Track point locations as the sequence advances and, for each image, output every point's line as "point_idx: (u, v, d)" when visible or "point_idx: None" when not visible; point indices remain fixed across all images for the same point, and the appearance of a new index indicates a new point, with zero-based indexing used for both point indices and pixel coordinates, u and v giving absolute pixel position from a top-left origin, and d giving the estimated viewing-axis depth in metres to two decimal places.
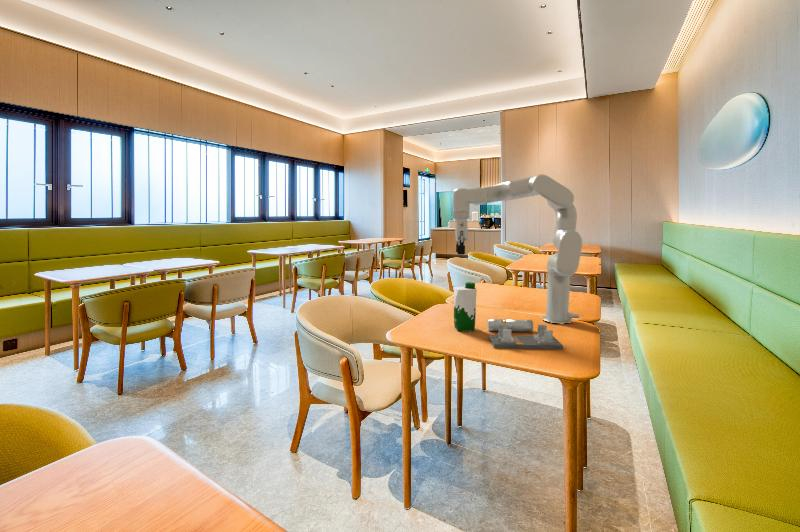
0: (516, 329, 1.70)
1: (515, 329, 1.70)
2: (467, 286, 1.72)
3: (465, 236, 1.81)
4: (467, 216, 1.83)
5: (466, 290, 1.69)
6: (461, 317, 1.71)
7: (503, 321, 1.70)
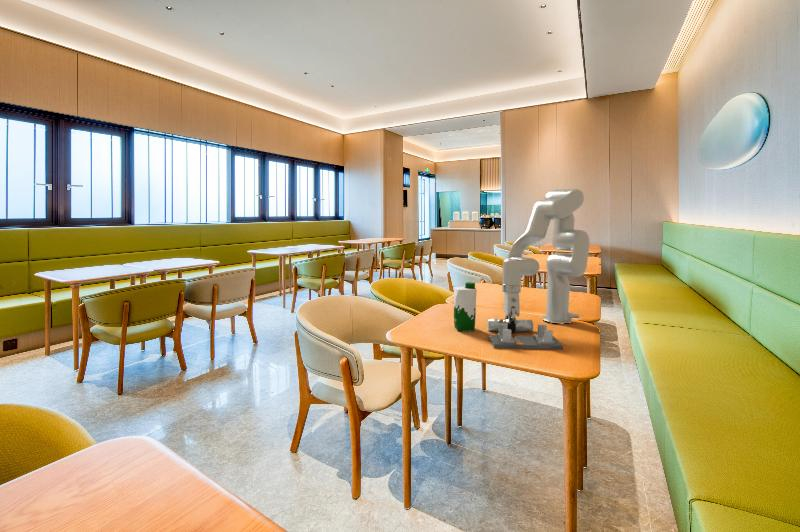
0: (516, 328, 1.70)
1: None
2: (467, 286, 1.72)
3: (517, 312, 1.66)
4: (519, 289, 1.67)
5: (466, 290, 1.69)
6: (461, 317, 1.71)
7: (503, 320, 1.71)
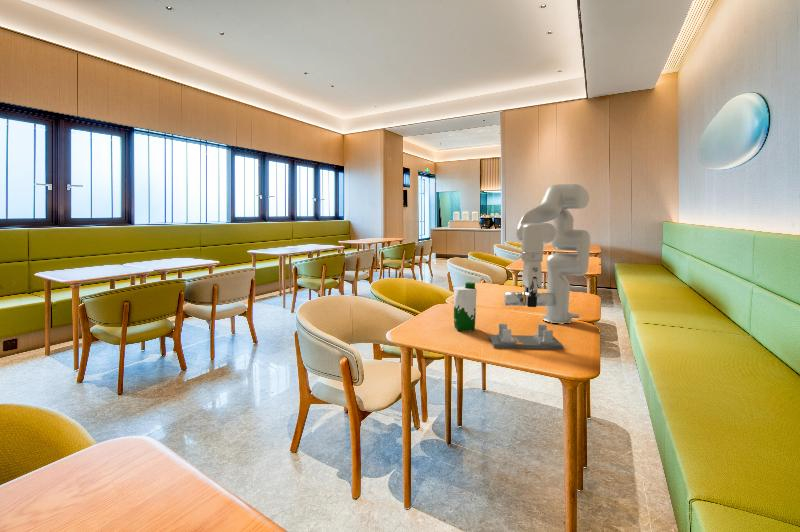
0: (537, 303, 1.51)
1: None
2: (467, 286, 1.72)
3: (539, 283, 1.47)
4: (541, 258, 1.48)
5: (466, 290, 1.69)
6: (461, 317, 1.71)
7: (522, 294, 1.52)
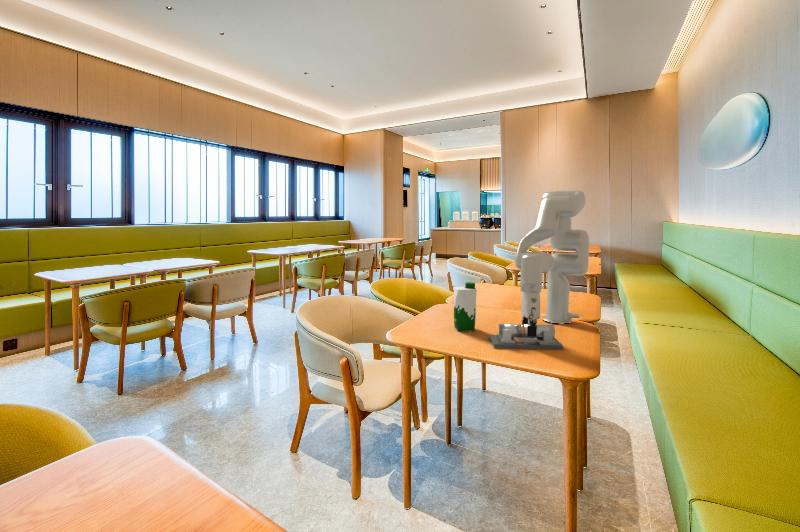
0: (536, 335, 1.52)
1: None
2: (467, 286, 1.72)
3: (538, 314, 1.48)
4: (539, 289, 1.50)
5: (466, 290, 1.69)
6: (461, 317, 1.71)
7: (521, 326, 1.53)
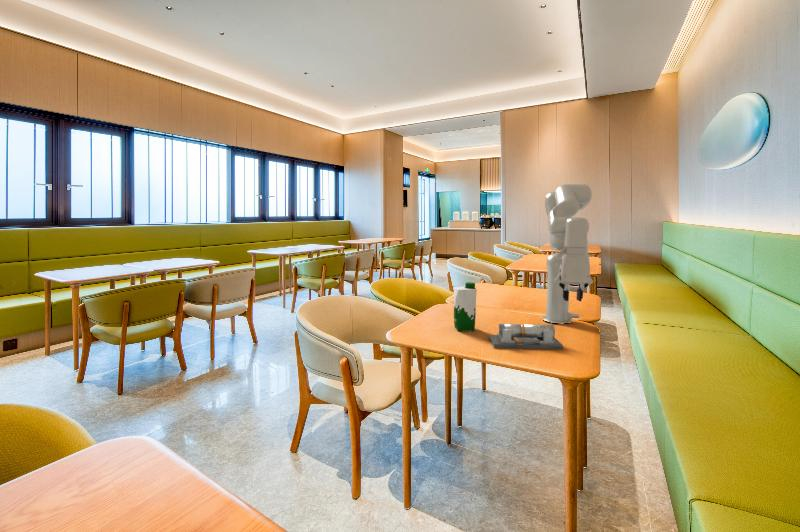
0: (536, 335, 1.52)
1: (535, 335, 1.52)
2: (467, 286, 1.72)
3: (561, 276, 1.50)
4: (570, 252, 1.47)
5: (466, 290, 1.69)
6: (461, 317, 1.71)
7: (521, 326, 1.53)
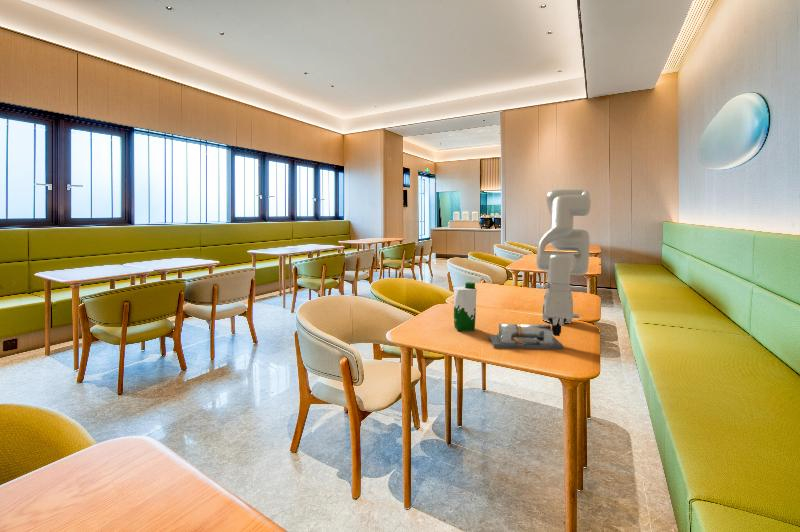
0: (532, 335, 1.52)
1: (531, 335, 1.52)
2: (467, 286, 1.72)
3: (545, 311, 1.51)
4: (553, 288, 1.49)
5: (466, 290, 1.69)
6: (461, 317, 1.71)
7: (517, 326, 1.53)
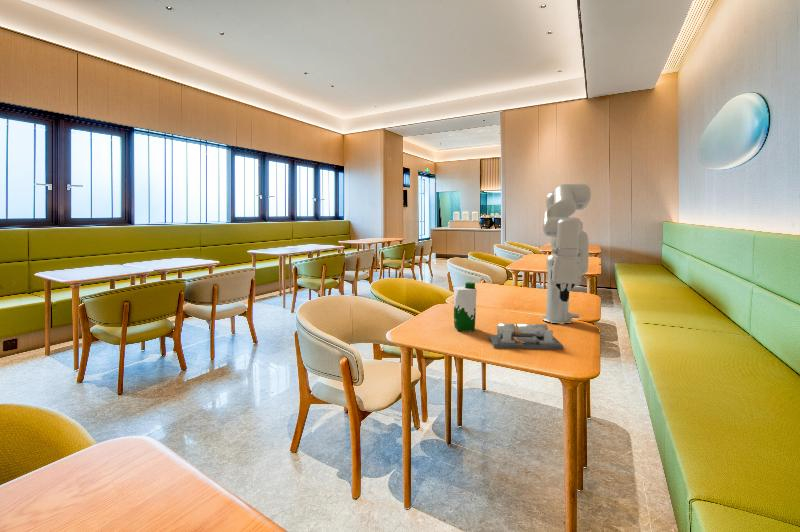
0: (529, 333, 1.53)
1: (528, 333, 1.53)
2: (467, 286, 1.72)
3: (552, 277, 1.50)
4: (561, 254, 1.48)
5: (466, 290, 1.69)
6: (461, 317, 1.71)
7: (514, 324, 1.54)
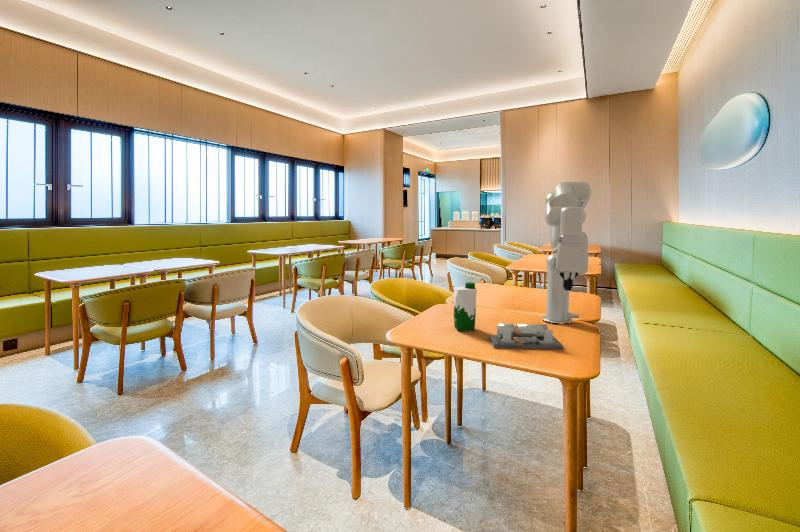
0: (529, 333, 1.53)
1: (528, 333, 1.53)
2: (467, 286, 1.72)
3: (556, 265, 1.49)
4: (565, 241, 1.47)
5: (466, 290, 1.69)
6: (461, 317, 1.71)
7: (514, 324, 1.55)
